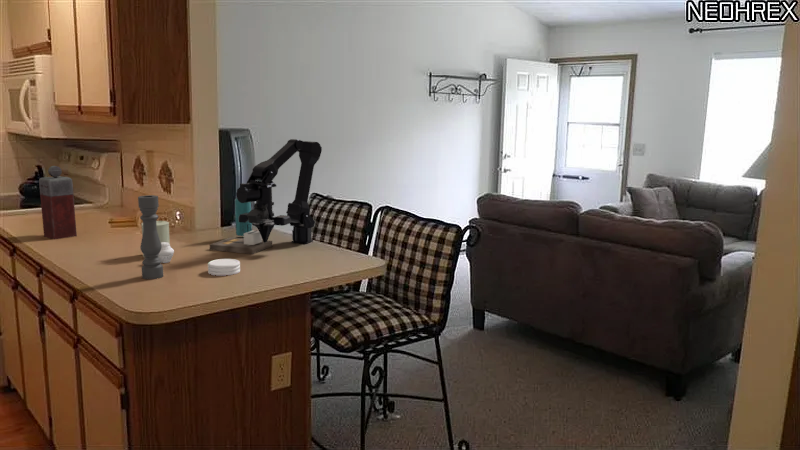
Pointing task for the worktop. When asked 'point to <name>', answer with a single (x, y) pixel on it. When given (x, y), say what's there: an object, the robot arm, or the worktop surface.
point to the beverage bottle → (239, 209)
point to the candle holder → (150, 238)
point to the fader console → (239, 246)
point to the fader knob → (252, 237)
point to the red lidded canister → (57, 205)
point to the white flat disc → (223, 267)
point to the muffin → (166, 252)
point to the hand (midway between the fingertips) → (265, 242)
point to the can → (161, 231)
